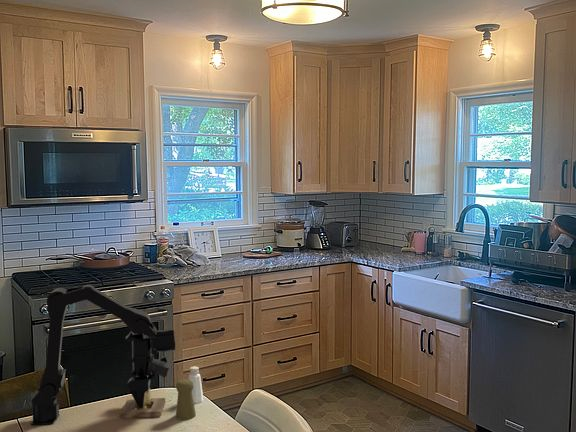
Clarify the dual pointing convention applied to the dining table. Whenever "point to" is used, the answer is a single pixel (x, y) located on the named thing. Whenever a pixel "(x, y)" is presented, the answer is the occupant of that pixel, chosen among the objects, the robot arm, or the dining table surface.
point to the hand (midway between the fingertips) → (143, 402)
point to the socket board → (154, 411)
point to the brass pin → (146, 400)
